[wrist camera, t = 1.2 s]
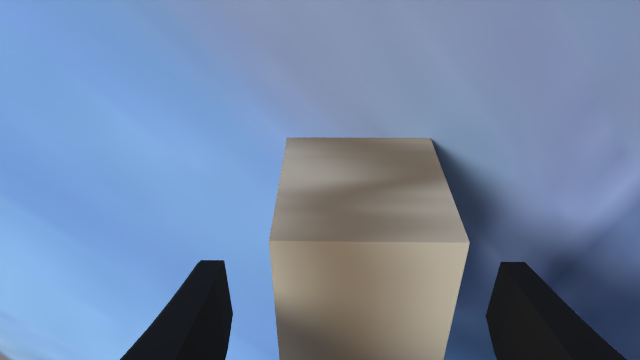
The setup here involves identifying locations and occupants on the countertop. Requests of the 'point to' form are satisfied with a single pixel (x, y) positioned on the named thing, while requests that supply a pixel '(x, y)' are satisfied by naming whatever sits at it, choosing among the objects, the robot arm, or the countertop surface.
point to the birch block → (365, 250)
